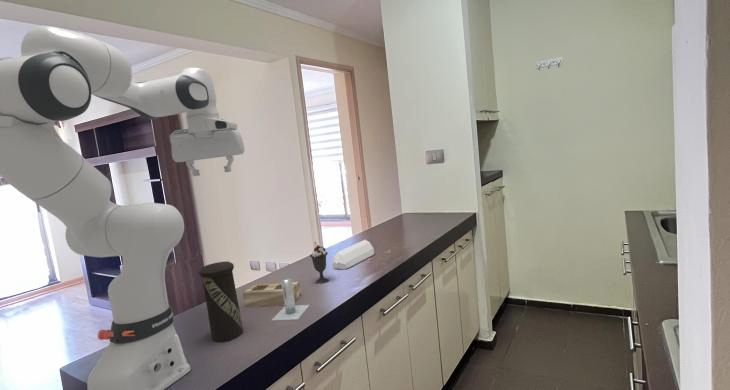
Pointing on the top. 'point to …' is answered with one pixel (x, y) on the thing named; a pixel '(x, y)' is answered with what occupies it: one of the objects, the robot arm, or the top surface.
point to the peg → (288, 296)
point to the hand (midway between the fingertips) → (212, 174)
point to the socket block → (268, 294)
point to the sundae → (319, 262)
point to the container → (221, 301)
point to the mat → (296, 315)
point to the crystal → (352, 255)
